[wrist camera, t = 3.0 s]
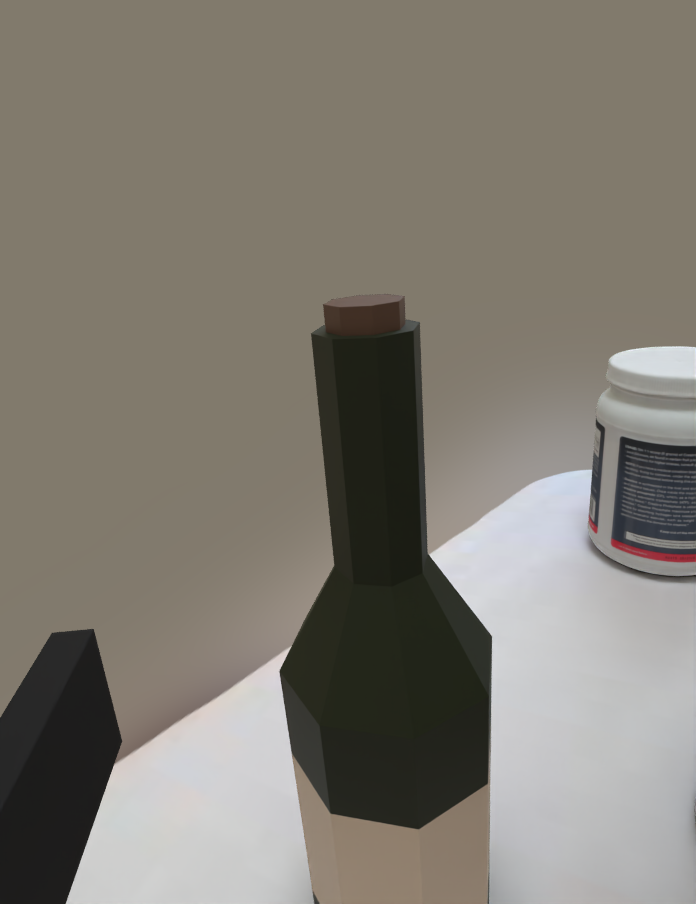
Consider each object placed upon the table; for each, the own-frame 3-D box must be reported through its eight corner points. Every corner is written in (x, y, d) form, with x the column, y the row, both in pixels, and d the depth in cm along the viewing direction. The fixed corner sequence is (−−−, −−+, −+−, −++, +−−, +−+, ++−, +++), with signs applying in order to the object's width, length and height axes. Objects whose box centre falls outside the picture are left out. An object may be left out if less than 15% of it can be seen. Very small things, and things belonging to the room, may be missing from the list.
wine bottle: (285, 955, 29) (166, 320, 18) (382, 818, 35) (338, 281, 24) (440, 1089, 24) (411, 334, 13) (522, 904, 30) (548, 281, 19)
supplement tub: (768, 560, 55) (809, 362, 49) (660, 600, 51) (688, 390, 45) (654, 504, 67) (674, 337, 60) (558, 533, 63) (568, 358, 56)
